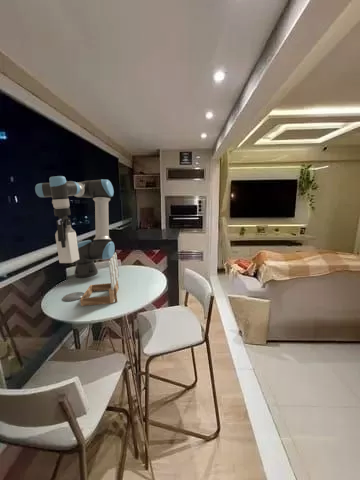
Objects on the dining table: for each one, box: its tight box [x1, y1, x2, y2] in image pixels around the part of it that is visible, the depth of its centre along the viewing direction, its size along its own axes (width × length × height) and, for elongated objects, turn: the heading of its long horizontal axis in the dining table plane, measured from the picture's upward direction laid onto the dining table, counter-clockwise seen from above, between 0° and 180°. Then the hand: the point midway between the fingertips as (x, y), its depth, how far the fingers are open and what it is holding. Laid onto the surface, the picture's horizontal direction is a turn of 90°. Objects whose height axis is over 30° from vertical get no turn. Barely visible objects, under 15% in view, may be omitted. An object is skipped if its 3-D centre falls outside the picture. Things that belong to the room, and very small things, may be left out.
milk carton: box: [54, 224, 79, 264], centre depth 133 cm, size 7×7×19 cm
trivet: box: [62, 291, 85, 302], centre depth 138 cm, size 11×11×1 cm
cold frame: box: [79, 252, 120, 307], centre depth 135 cm, size 20×17×21 cm
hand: (68, 251), depth 134 cm, fingers closed on milk carton, 8 cm apart
